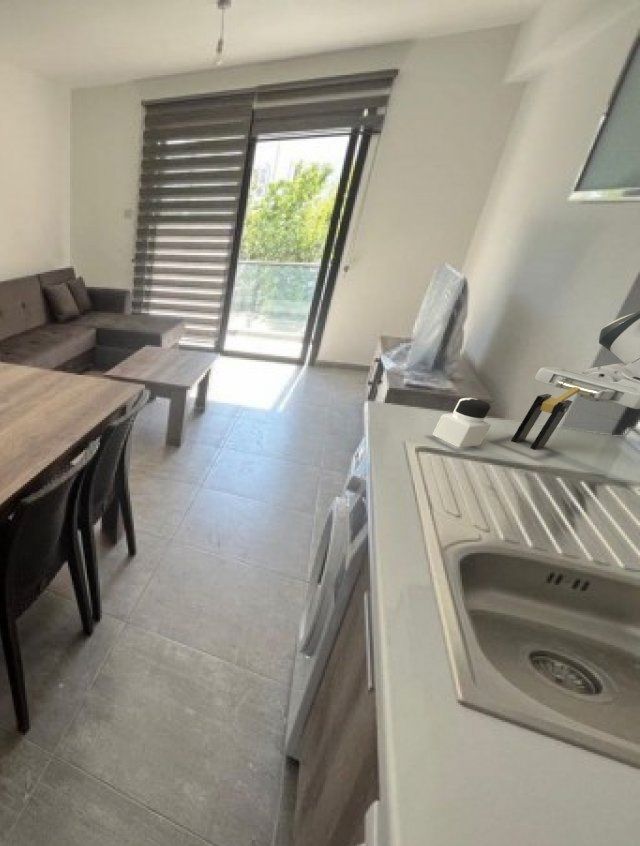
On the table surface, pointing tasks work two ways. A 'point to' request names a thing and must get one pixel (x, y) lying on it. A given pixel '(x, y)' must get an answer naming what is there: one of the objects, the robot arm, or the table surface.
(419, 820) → the table surface
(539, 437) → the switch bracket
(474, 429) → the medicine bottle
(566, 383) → the switch lever
